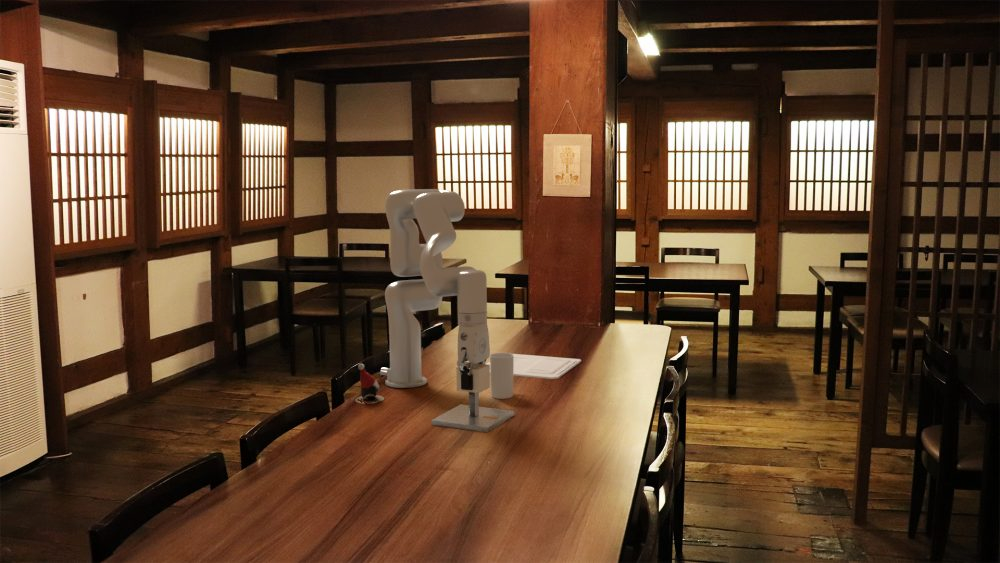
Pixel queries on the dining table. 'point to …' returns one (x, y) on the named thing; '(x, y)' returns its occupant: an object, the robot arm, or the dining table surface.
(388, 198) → the robot arm
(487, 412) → the square peg base
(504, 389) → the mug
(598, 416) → the dining table surface
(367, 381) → the figurine
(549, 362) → the tray
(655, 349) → the dining table surface
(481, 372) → the hollow square tube
